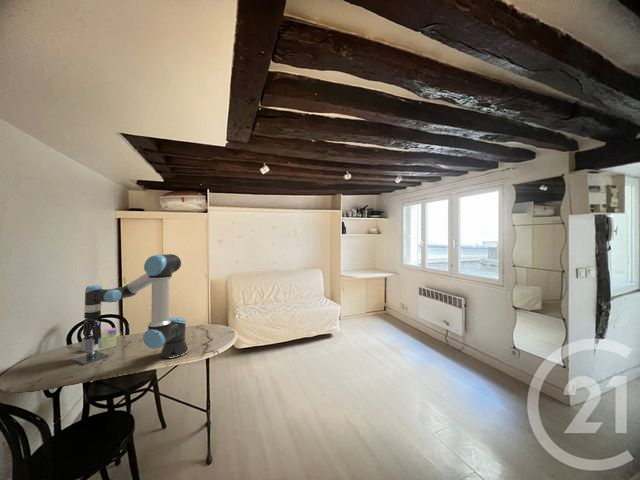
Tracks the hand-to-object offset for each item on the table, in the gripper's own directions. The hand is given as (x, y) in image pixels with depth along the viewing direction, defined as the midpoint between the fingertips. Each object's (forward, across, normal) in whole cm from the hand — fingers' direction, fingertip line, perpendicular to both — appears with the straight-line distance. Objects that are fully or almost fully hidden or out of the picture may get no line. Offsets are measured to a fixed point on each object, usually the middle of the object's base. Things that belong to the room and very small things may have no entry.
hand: (91, 348), depth 153 cm
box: (+7, +12, -13) cm, 19 cm away
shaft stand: (+7, 0, 0) cm, 7 cm away
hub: (0, 0, 0) cm, 0 cm away
